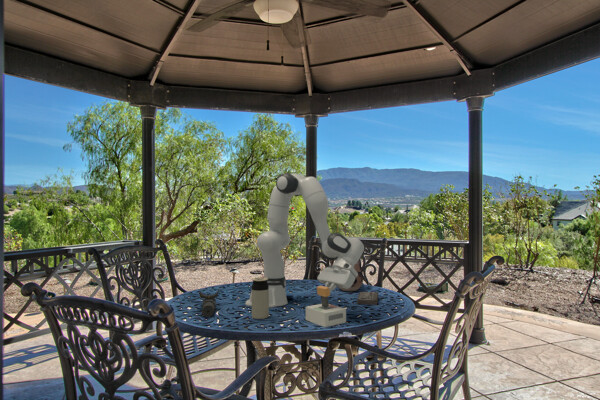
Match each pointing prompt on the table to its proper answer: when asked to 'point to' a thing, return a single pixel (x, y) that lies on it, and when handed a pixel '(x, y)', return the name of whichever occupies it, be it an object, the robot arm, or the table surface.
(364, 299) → the box
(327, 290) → the lever
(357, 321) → the table surface
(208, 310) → the laser sight
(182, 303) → the table surface
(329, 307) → the block
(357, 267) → the ceramic pitcher
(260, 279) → the travel mug
